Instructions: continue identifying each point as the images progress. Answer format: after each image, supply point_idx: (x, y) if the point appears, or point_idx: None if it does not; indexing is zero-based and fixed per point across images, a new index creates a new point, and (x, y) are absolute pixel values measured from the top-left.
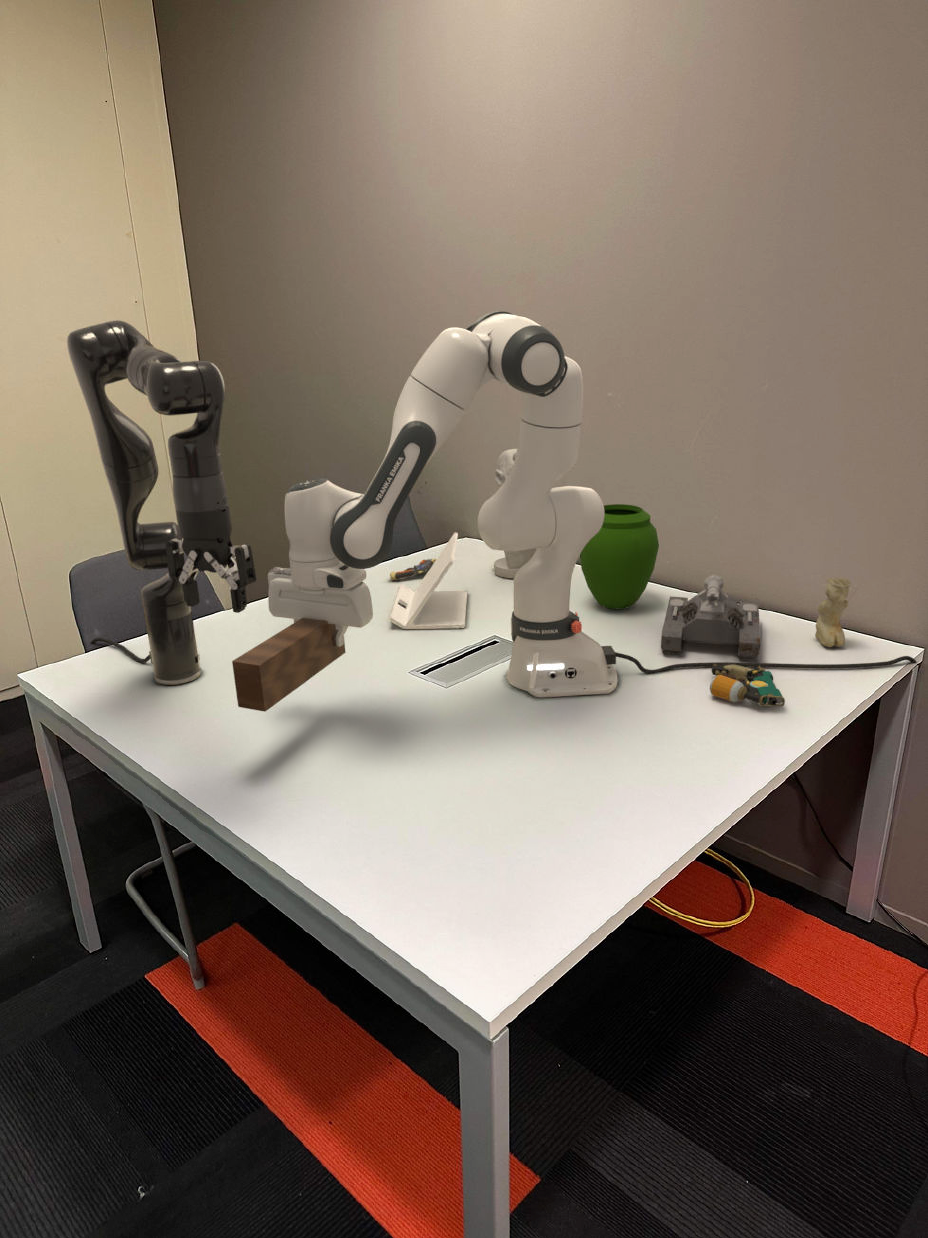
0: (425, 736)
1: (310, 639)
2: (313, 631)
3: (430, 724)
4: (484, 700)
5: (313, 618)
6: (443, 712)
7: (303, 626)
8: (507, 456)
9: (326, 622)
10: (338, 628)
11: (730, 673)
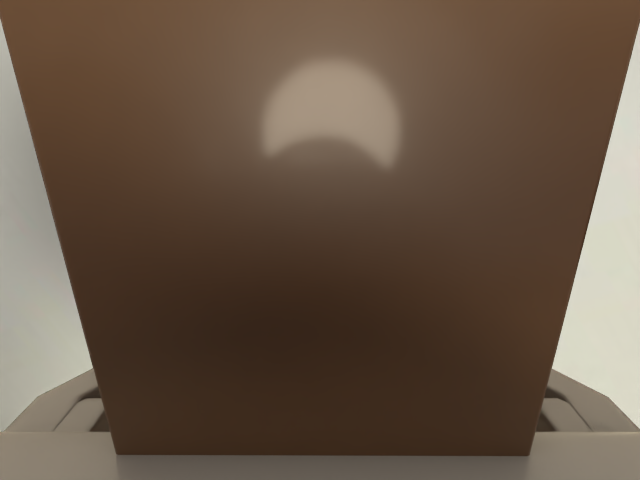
0: (5, 185)
1: None
2: (26, 45)
3: (40, 249)
4: (11, 394)
5: (341, 464)
6: (55, 315)
7: (325, 163)
8: None
9: (117, 425)
10: (72, 410)
11: None
